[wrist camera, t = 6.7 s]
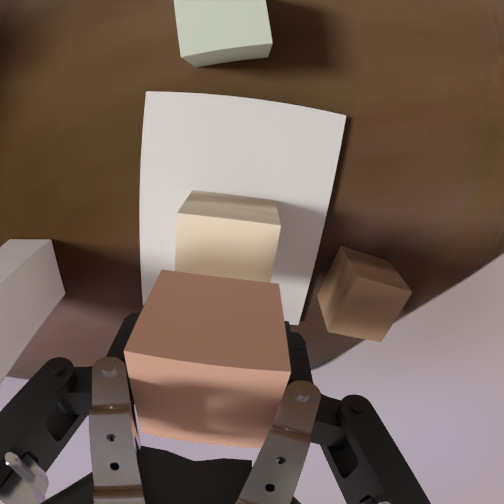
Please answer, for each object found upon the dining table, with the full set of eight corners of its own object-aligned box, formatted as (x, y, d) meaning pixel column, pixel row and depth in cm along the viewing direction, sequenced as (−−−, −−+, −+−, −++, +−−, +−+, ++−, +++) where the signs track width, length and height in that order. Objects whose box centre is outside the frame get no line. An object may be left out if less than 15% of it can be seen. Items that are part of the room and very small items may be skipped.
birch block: (192, 190, 22) (176, 212, 17) (274, 200, 22) (281, 225, 18) (187, 263, 25) (174, 299, 20) (262, 272, 25) (264, 310, 20)
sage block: (188, 7, 16) (172, -16, 12) (258, -3, 16) (260, -30, 12) (196, 67, 19) (180, 57, 14) (267, 57, 18) (272, 43, 14)
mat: (149, 91, 19) (146, 91, 19) (343, 115, 20) (346, 115, 20) (144, 302, 27) (143, 306, 27) (297, 320, 28) (298, 325, 27)
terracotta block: (161, 269, 13) (123, 350, 8) (279, 283, 13) (291, 371, 9) (164, 352, 15) (142, 432, 11) (261, 364, 15) (263, 448, 11)
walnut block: (340, 245, 25) (357, 276, 20) (388, 260, 25) (412, 292, 21) (316, 294, 27) (327, 331, 22) (364, 306, 27) (380, 341, 23)
